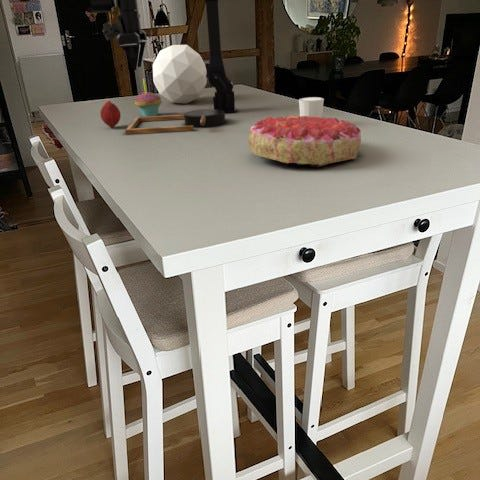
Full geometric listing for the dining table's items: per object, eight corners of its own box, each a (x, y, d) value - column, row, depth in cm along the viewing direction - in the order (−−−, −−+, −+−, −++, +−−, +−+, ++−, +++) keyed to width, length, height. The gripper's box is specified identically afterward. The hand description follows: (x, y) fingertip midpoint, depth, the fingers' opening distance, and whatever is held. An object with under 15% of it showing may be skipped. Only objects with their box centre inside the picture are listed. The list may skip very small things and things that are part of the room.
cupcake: (160, 117, 166) (155, 76, 160) (134, 118, 167) (128, 78, 161) (164, 112, 174) (159, 73, 167) (139, 113, 174) (133, 74, 168)
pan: (225, 118, 160) (224, 107, 158) (224, 131, 143) (224, 119, 141) (186, 120, 160) (185, 109, 158) (181, 134, 143) (180, 121, 141)
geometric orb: (195, 122, 192) (206, 78, 174) (143, 104, 189) (148, 58, 171) (206, 88, 200) (217, 43, 183) (155, 71, 197) (162, 23, 180)
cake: (231, 162, 110) (232, 122, 106) (267, 140, 131) (268, 106, 127) (347, 175, 103) (352, 133, 99) (365, 150, 124) (371, 115, 120)
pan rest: (196, 117, 163) (196, 113, 162) (193, 130, 146) (192, 126, 146) (136, 121, 163) (135, 117, 163) (125, 134, 147) (125, 129, 146)
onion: (126, 127, 156) (121, 98, 152) (110, 130, 152) (105, 101, 148) (115, 125, 159) (110, 97, 155) (99, 128, 156) (94, 100, 152)
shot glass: (307, 129, 140) (307, 101, 137) (293, 125, 146) (293, 98, 142) (328, 125, 143) (329, 98, 139) (313, 122, 148) (314, 95, 144)
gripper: (108, 12, 162) (117, 67, 170) (94, 13, 146) (105, 73, 154) (143, 9, 162) (150, 64, 170) (133, 10, 146) (142, 71, 154)
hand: (137, 68), depth 162 cm, fingers open, 9 cm apart
